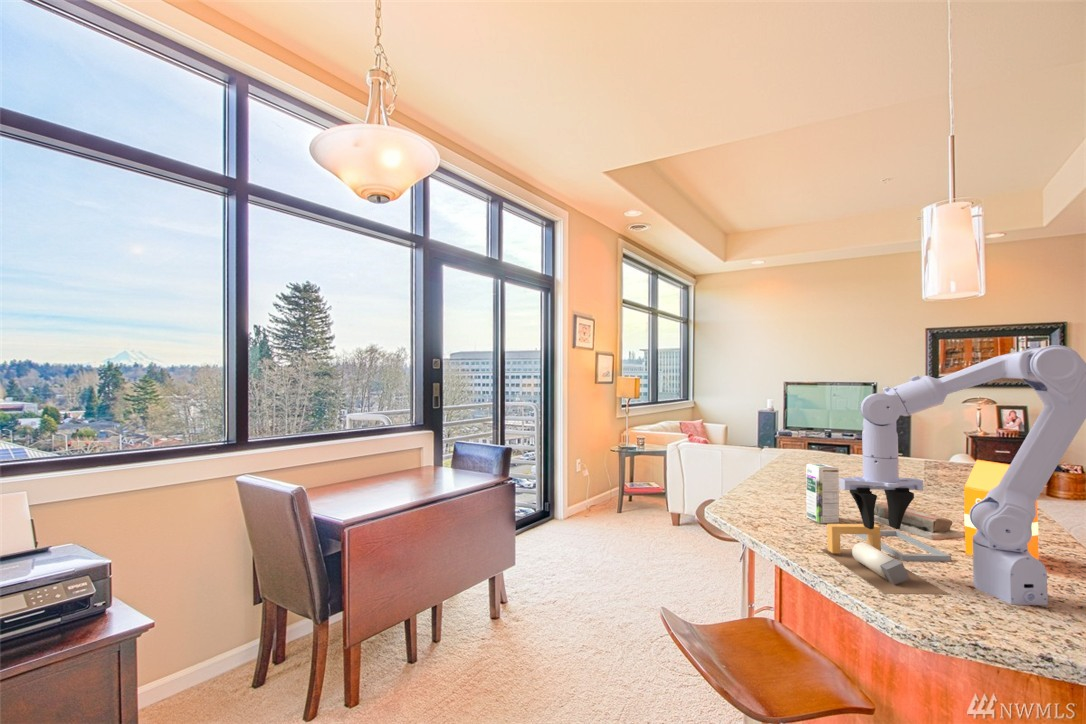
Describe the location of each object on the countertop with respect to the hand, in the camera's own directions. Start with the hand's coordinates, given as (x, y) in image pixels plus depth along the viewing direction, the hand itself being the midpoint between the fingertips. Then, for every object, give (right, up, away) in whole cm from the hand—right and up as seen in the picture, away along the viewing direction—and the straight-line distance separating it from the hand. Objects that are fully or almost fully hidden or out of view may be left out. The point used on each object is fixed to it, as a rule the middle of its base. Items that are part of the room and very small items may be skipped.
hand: (881, 527), depth 97 cm
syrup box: (+9, -10, +37) cm, 39 cm away
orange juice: (+31, -10, +9) cm, 34 cm away
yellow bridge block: (0, -8, +9) cm, 12 cm away
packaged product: (+29, -11, +31) cm, 43 cm away
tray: (+13, -10, +14) cm, 21 cm away
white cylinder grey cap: (0, -8, 0) cm, 8 cm away
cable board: (0, -9, +1) cm, 10 cm away
